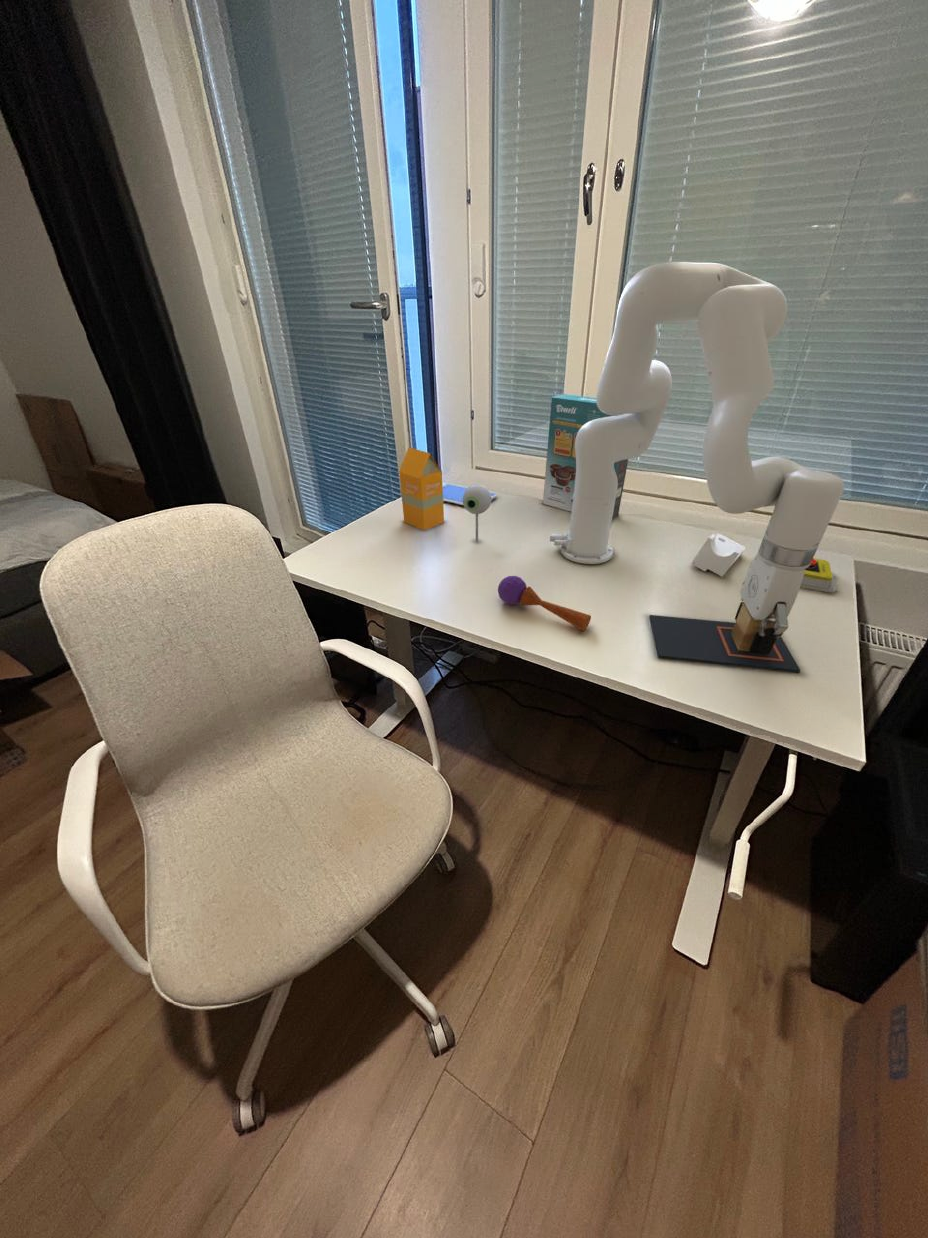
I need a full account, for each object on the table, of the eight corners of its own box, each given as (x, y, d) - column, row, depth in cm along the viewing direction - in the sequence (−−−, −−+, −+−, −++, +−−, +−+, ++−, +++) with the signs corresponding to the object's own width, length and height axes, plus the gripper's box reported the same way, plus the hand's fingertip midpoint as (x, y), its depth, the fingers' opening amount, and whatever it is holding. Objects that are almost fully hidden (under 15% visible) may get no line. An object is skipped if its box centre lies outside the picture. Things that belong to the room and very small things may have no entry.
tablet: (425, 498, 151) (425, 494, 150) (447, 486, 160) (447, 482, 159) (477, 510, 142) (477, 506, 142) (498, 497, 151) (498, 493, 150)
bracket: (719, 579, 109) (738, 553, 104) (691, 563, 112) (708, 537, 107) (737, 559, 117) (756, 534, 112) (710, 544, 120) (727, 519, 115)
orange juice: (423, 513, 141) (419, 444, 130) (444, 522, 136) (441, 450, 124) (403, 521, 136) (396, 450, 125) (424, 530, 131) (419, 456, 120)
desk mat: (658, 658, 85) (659, 655, 85) (649, 617, 96) (650, 614, 96) (799, 673, 82) (800, 669, 81) (774, 628, 92) (775, 625, 92)
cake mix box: (618, 515, 138) (638, 403, 121) (608, 522, 134) (627, 407, 117) (553, 498, 150) (563, 393, 133) (542, 503, 146) (551, 397, 129)
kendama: (581, 622, 88) (492, 582, 97) (577, 643, 92) (492, 603, 101) (596, 603, 91) (508, 566, 100) (592, 624, 95) (508, 587, 105)
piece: (738, 650, 86) (753, 612, 81) (730, 634, 90) (744, 597, 85) (768, 653, 85) (785, 615, 80) (759, 636, 89) (775, 599, 84)
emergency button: (844, 575, 100) (763, 560, 105) (835, 593, 102) (756, 578, 108) (839, 557, 106) (763, 544, 112) (831, 574, 109) (757, 560, 115)
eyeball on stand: (459, 545, 124) (457, 488, 115) (469, 533, 129) (468, 479, 121) (484, 549, 122) (485, 491, 113) (494, 537, 127) (495, 482, 118)
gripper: (746, 526, 84) (717, 608, 94) (779, 575, 71) (741, 664, 80) (792, 529, 83) (758, 611, 93) (835, 579, 69) (790, 669, 79)
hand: (750, 635), depth 87 cm, fingers open, 9 cm apart
